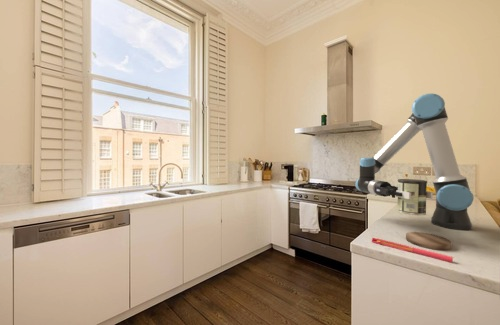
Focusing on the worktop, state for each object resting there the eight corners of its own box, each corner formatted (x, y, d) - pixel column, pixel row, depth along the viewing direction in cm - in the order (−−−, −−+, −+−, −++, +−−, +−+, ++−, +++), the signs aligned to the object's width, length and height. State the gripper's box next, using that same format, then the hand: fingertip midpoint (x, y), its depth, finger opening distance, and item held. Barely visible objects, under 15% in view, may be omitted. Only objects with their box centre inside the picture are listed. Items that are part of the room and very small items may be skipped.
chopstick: (374, 242, 90) (370, 242, 87) (374, 237, 90) (371, 236, 87) (454, 263, 72) (453, 264, 69) (454, 257, 73) (453, 257, 70)
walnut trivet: (427, 235, 95) (427, 231, 95) (462, 249, 81) (462, 244, 81) (397, 236, 93) (397, 232, 93) (427, 250, 79) (428, 245, 79)
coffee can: (418, 210, 100) (419, 179, 99) (431, 216, 90) (432, 181, 89) (393, 208, 102) (393, 178, 102) (402, 214, 92) (403, 180, 92)
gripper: (398, 195, 115) (443, 203, 93) (360, 195, 111) (397, 205, 89) (399, 180, 115) (443, 186, 93) (360, 181, 111) (397, 187, 89)
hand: (420, 195), depth 91 cm, fingers closed on coffee can, 10 cm apart
